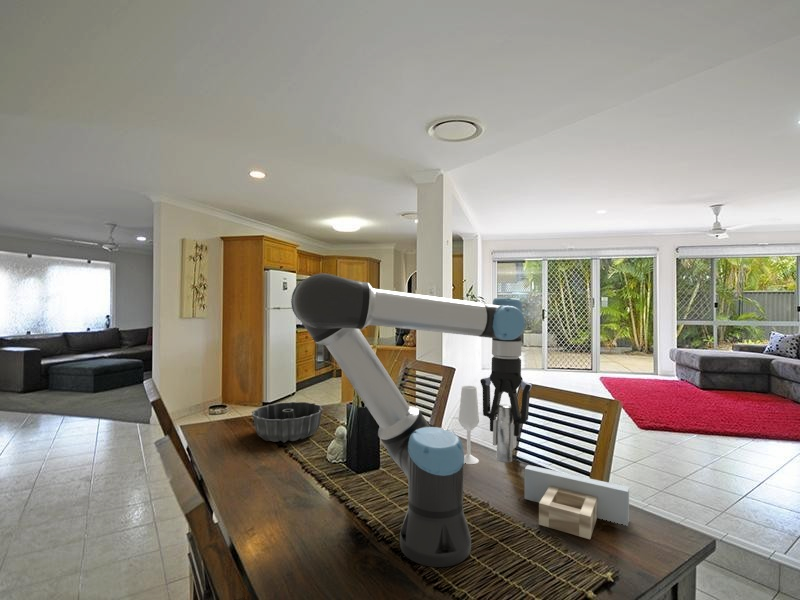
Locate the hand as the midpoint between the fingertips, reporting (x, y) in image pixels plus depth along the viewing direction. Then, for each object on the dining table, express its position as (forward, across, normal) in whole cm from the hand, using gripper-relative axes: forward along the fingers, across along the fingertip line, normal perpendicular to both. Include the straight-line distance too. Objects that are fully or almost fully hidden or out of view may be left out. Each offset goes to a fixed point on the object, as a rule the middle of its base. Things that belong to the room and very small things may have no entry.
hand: (504, 445), depth 108 cm
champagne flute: (+14, +19, -20) cm, 31 cm away
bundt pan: (+15, +87, -4) cm, 88 cm away
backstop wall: (+14, -16, -6) cm, 22 cm away
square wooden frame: (+14, -16, +2) cm, 22 cm away
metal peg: (+4, 0, 0) cm, 4 cm away
